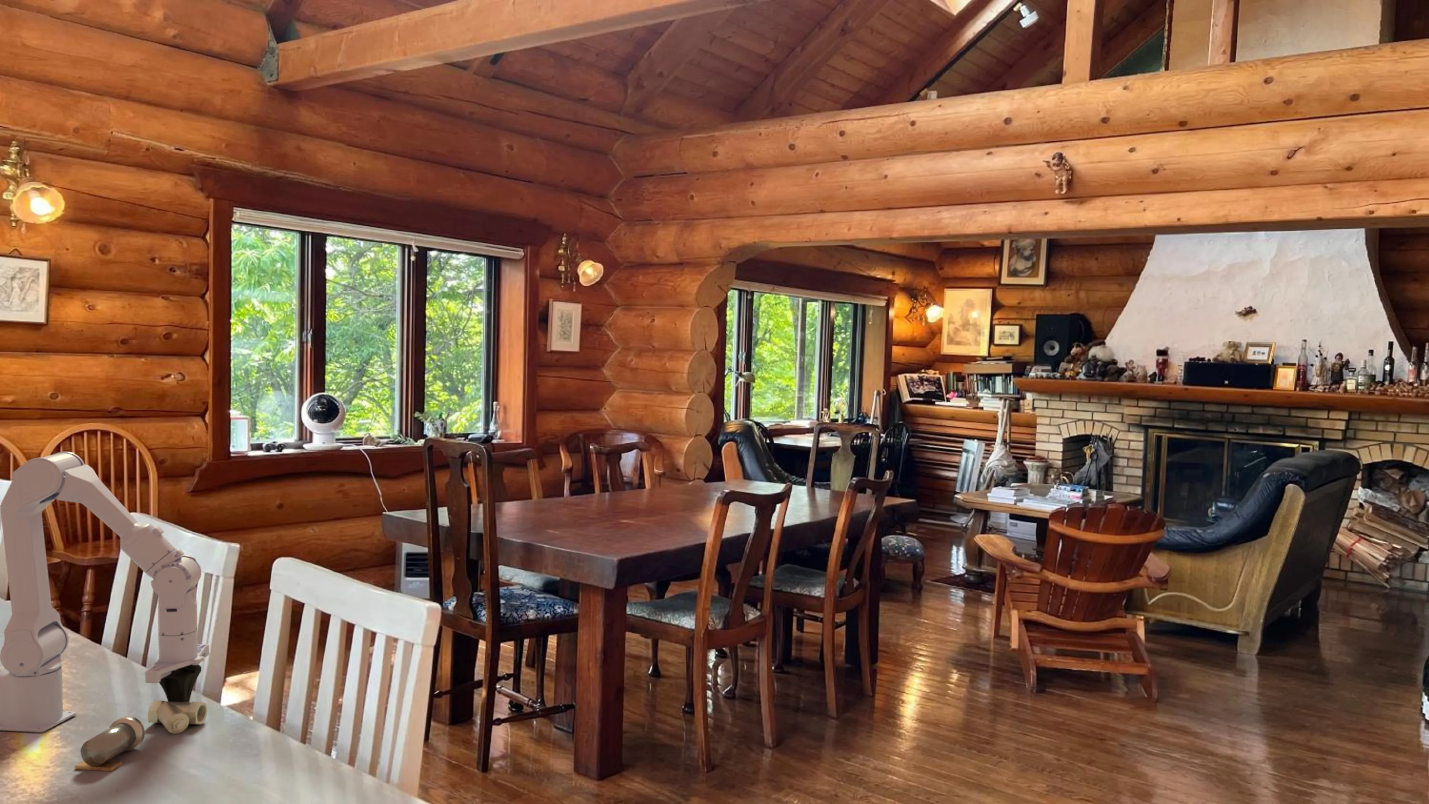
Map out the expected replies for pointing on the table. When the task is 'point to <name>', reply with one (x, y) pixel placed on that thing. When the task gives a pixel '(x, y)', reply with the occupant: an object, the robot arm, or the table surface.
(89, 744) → the pipe stub
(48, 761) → the table surface
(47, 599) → the robot arm
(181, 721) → the pipe fitting
